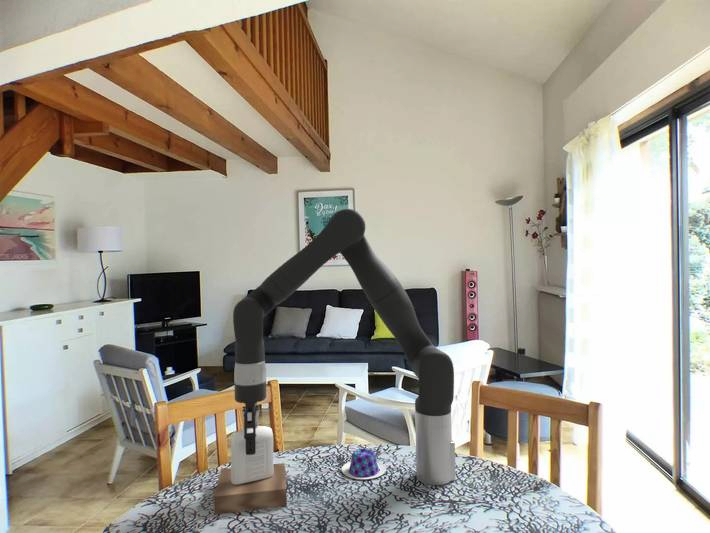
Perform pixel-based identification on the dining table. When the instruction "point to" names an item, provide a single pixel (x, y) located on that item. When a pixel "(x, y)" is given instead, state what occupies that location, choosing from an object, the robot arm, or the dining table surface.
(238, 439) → the photo printer
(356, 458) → the pudding
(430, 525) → the dining table surface
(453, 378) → the robot arm
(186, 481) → the dining table surface
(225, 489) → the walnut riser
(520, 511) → the dining table surface
